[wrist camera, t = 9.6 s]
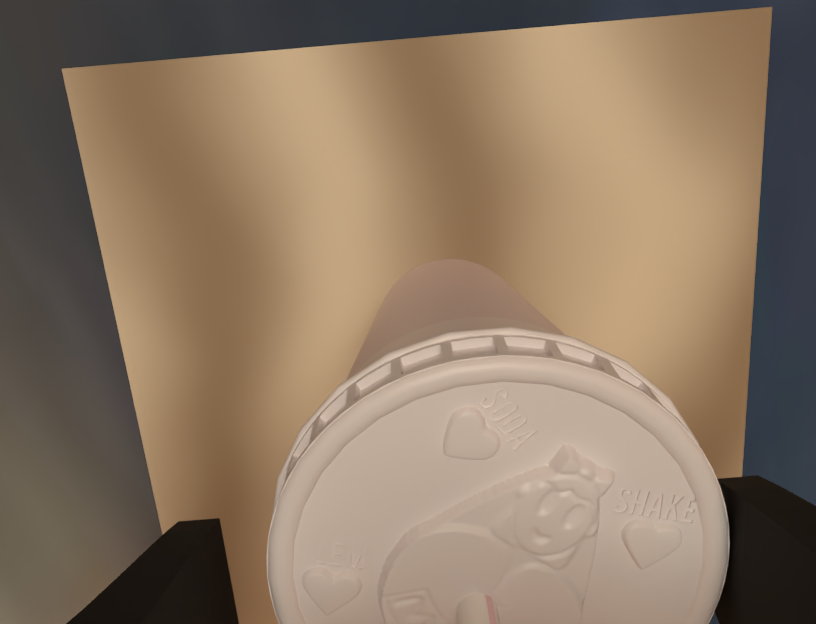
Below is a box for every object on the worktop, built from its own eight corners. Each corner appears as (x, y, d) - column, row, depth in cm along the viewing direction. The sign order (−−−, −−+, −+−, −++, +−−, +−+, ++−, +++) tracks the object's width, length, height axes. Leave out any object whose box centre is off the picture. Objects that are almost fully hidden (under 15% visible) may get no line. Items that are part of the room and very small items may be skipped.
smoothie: (276, 365, 20) (38, 1005, 6) (411, 151, 18) (462, 425, 5) (483, 482, 21) (635, 1223, 8) (627, 291, 19) (1141, 818, 6)
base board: (197, 606, 24) (185, 641, 22) (86, 67, 19) (61, 68, 17) (713, 565, 24) (734, 598, 22) (743, 10, 19) (772, 6, 17)
